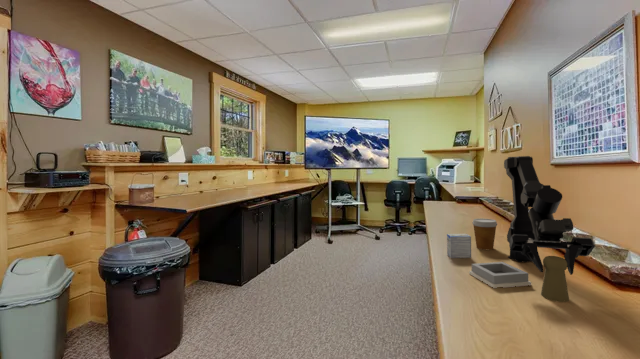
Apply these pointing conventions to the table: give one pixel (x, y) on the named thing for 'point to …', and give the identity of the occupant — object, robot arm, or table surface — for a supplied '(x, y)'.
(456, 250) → the medicine box
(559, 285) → the cork
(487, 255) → the table surface
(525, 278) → the socket plate
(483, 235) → the disposable coffee cup
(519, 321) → the table surface
